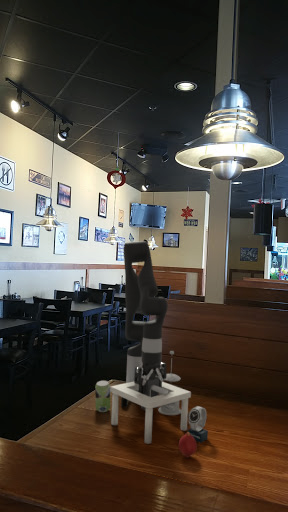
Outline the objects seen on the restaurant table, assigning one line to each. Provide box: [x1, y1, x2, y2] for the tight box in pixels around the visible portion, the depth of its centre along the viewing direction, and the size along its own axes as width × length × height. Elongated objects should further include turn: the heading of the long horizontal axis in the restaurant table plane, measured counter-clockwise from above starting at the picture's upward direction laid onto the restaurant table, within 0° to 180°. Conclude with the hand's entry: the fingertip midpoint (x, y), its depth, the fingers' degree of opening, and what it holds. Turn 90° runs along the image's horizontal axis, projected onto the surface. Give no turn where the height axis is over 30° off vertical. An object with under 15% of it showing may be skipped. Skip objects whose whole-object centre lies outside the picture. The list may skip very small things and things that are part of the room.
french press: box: [157, 350, 181, 416], centre depth 169 cm, size 10×12×25 cm
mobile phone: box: [120, 397, 130, 408], centre depth 177 cm, size 5×3×15 cm
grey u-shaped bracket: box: [140, 377, 160, 411], centre depth 151 cm, size 6×4×11 cm, turn 132°
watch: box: [187, 405, 209, 444], centre depth 142 cm, size 6×8×11 cm
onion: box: [178, 431, 198, 458], centre depth 128 cm, size 6×6×8 cm
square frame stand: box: [110, 381, 192, 445], centre depth 151 cm, size 21×22×16 cm
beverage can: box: [94, 380, 111, 413], centre depth 165 cm, size 6×7×12 cm
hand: (150, 392), depth 151 cm, fingers open, 8 cm apart
